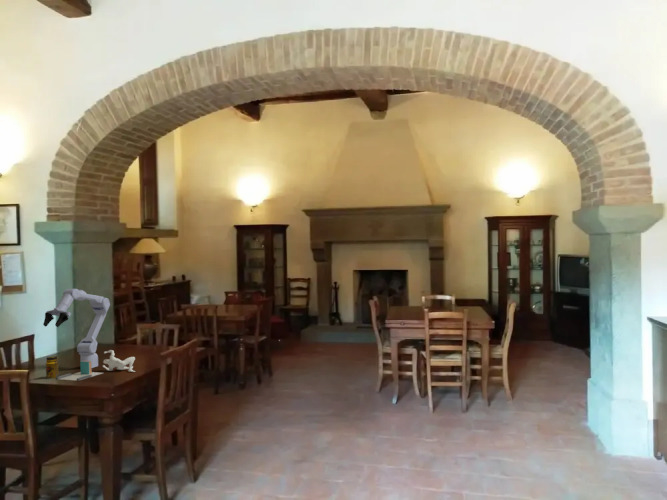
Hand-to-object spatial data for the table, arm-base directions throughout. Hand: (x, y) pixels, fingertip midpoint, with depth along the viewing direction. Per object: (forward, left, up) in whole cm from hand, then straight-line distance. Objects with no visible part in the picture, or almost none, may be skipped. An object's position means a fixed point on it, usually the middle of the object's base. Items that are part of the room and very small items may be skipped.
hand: (50, 325), depth 287 cm
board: (-9, +11, -30) cm, 33 cm away
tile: (-14, +10, -29) cm, 34 cm away
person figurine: (-25, +23, -30) cm, 45 cm away
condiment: (-4, -3, -30) cm, 30 cm away
